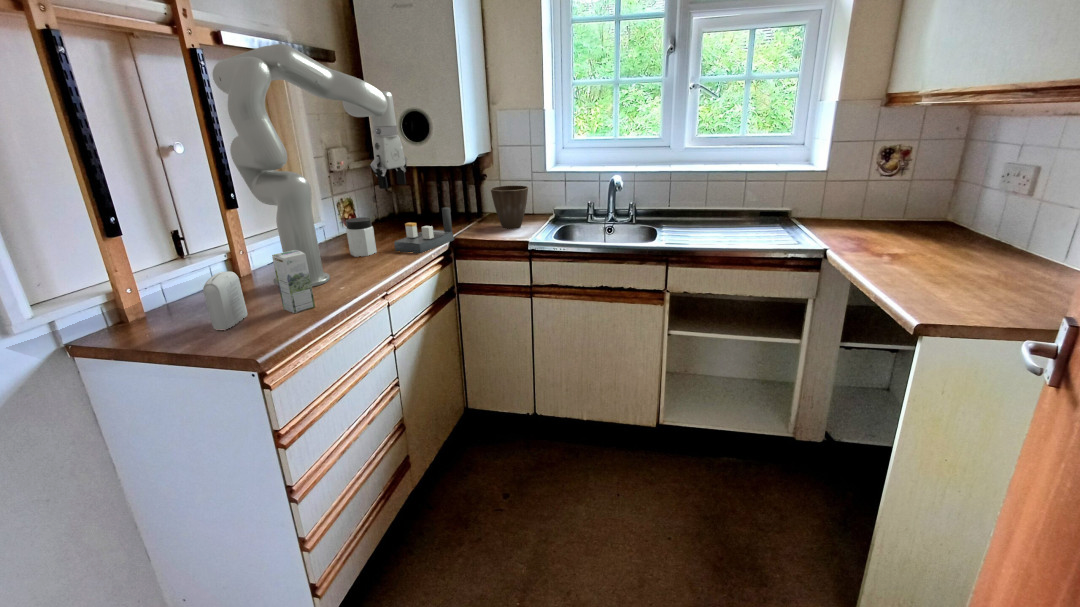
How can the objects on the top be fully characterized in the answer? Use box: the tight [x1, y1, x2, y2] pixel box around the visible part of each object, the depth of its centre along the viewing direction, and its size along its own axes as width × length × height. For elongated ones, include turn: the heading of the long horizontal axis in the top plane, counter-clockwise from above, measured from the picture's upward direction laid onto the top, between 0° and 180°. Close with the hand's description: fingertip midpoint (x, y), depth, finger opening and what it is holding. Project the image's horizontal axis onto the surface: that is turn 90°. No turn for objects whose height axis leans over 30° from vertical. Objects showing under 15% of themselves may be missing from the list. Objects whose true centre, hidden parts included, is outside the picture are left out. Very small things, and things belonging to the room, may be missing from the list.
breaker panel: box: [393, 229, 454, 254], centre depth 189 cm, size 20×11×4 cm, turn 155°
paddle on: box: [404, 222, 418, 238], centre depth 186 cm, size 2×3×5 cm
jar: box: [345, 217, 377, 258], centre depth 180 cm, size 9×8×12 cm
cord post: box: [441, 206, 455, 241], centre depth 195 cm, size 4×4×12 cm
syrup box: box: [272, 250, 316, 314], centre depth 130 cm, size 6×6×14 cm
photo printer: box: [202, 270, 248, 330], centre depth 122 cm, size 10×4×12 cm, turn 3°
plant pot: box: [490, 185, 529, 230], centre depth 211 cm, size 15×15×16 cm
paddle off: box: [421, 225, 434, 239], centre depth 183 cm, size 2×3×4 cm
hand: (393, 186), depth 175 cm, fingers open, 8 cm apart
